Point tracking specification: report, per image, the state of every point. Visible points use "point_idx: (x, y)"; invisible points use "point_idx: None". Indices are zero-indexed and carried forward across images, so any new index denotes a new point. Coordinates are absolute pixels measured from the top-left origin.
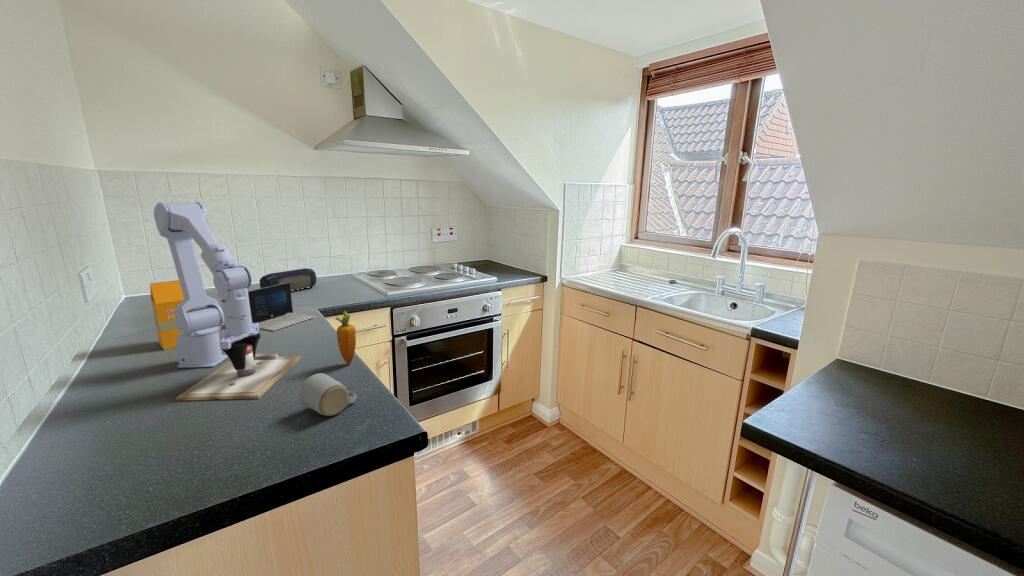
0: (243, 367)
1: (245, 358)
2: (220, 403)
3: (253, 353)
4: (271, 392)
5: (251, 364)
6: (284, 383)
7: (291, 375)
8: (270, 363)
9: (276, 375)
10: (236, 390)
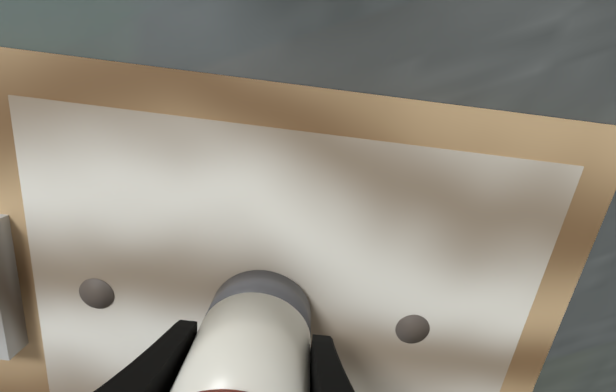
0: (334, 347)
1: (300, 390)
2: (594, 304)
3: (164, 368)
4: (555, 71)
5: (273, 315)
6: (425, 24)
7: (284, 15)
8: (98, 223)
9: (323, 111)
10: (512, 279)
